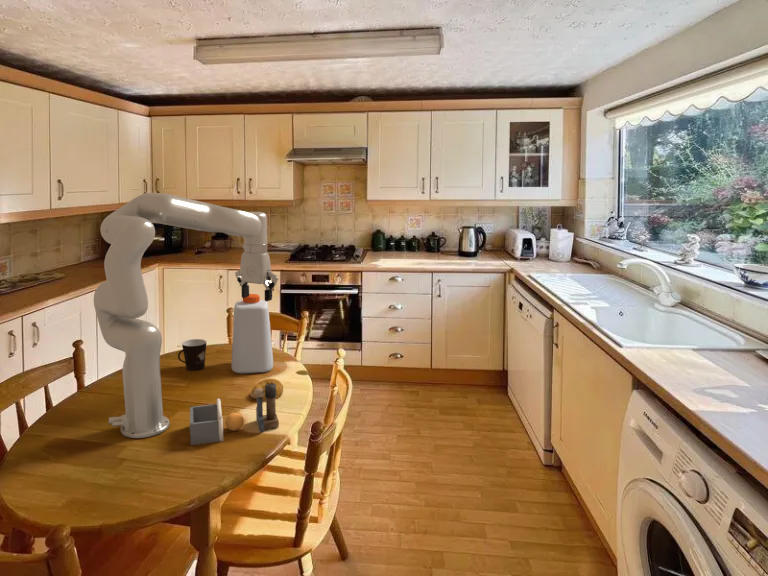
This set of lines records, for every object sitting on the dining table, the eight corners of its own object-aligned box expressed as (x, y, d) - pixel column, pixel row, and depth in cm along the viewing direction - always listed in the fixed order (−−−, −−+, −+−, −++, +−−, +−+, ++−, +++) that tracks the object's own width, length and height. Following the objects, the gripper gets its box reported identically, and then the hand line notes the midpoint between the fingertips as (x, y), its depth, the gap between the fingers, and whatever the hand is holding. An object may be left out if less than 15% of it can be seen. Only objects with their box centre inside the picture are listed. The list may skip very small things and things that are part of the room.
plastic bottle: (273, 373, 193) (272, 299, 187) (230, 375, 190) (228, 300, 184) (273, 359, 207) (271, 290, 202) (233, 361, 204) (231, 291, 198)
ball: (226, 434, 146) (225, 418, 145) (225, 426, 151) (224, 410, 149) (244, 432, 148) (244, 416, 147) (243, 424, 152) (242, 408, 151)
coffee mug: (202, 362, 202) (201, 337, 200) (211, 368, 195) (210, 343, 193) (171, 368, 194) (170, 343, 192) (179, 375, 188) (178, 349, 186)
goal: (190, 445, 140) (189, 419, 138) (191, 425, 151) (189, 401, 149) (223, 441, 142) (222, 415, 141) (221, 422, 153) (220, 398, 152)
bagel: (246, 393, 175) (246, 379, 174) (277, 387, 180) (277, 374, 179) (255, 404, 166) (255, 390, 165) (287, 398, 172) (288, 385, 171)
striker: (256, 432, 147) (255, 393, 145) (253, 419, 155) (252, 382, 152) (279, 429, 149) (279, 390, 147) (275, 416, 157) (274, 379, 154)
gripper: (227, 248, 175) (229, 297, 178) (269, 252, 167) (270, 304, 171) (242, 246, 181) (243, 293, 185) (283, 250, 174) (284, 299, 178)
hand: (256, 298), depth 178 cm, fingers open, 9 cm apart
